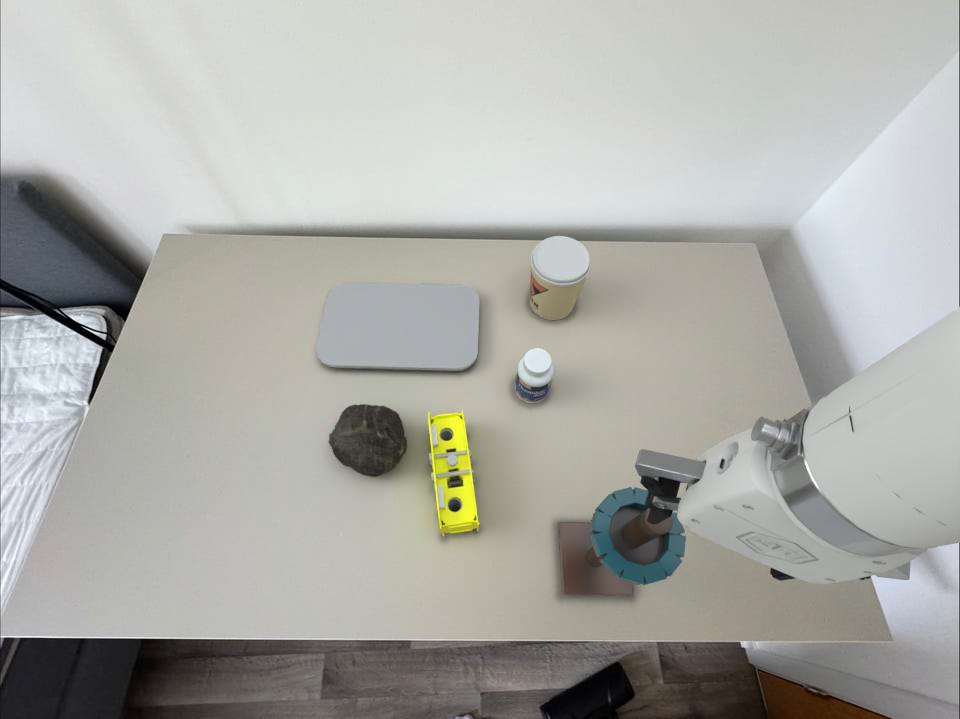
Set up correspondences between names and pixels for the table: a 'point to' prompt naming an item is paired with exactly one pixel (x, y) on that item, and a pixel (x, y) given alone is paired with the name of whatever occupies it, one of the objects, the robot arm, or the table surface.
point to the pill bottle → (534, 376)
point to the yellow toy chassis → (452, 473)
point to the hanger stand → (584, 566)
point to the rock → (369, 439)
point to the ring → (614, 559)
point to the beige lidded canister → (557, 276)
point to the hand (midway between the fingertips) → (714, 531)
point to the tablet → (400, 326)
